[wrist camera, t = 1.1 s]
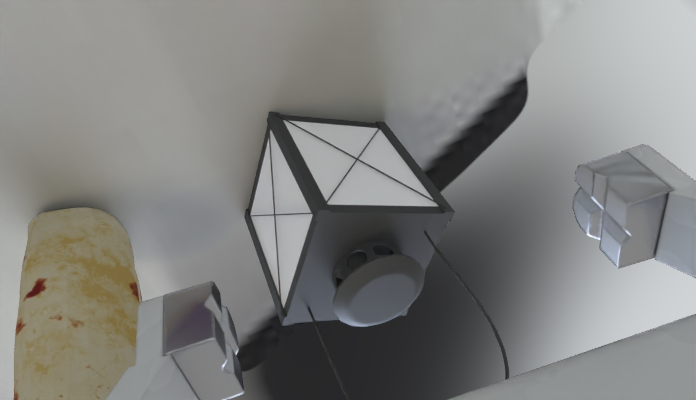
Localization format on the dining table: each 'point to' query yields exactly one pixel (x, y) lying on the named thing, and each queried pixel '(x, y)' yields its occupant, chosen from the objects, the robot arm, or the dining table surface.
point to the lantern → (344, 223)
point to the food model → (75, 307)
